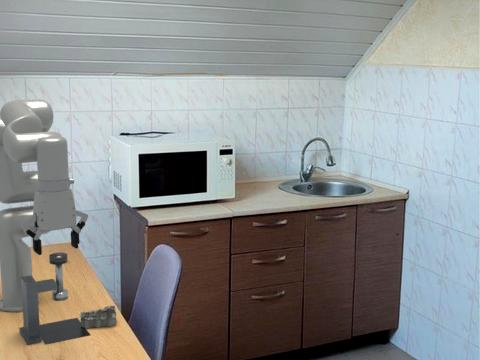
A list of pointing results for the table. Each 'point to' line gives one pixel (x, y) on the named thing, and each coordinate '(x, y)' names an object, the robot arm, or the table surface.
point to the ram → (59, 275)
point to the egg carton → (99, 317)
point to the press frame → (31, 316)
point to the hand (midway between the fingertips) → (56, 250)
